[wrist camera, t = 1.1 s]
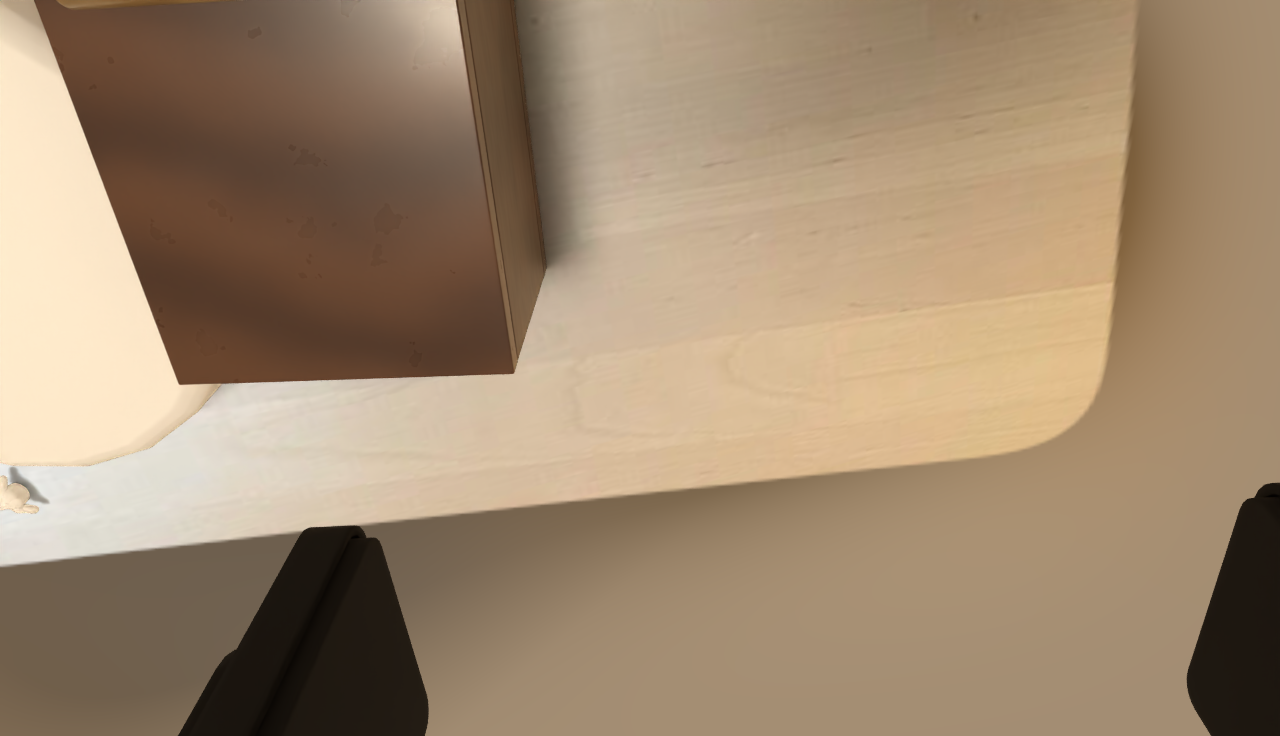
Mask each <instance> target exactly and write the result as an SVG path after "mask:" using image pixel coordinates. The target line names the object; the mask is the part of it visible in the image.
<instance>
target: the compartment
mask: <svg viewBox="0 0 1280 736" xmlns="http://www.w3.org/2000/svg"><path fill="white" fill-rule="evenodd" d="M464 4H465V11H466V18H467V25H468V31H469V38H470V45H471V51H472V58H473V65H474V72H475V78H476V85H477V92H478V99H479V105H480V112H481V119H482V125H483V132H484V139H485V146H486V152H487V159H488V166H489V173H490V179H491V186H492V193H493V199H494V206H495V213H496V220H497V226H498V233H499V240H500V247H501V253H502V260H503V267H504V273H505V280H506V287H507V294H508V300H509V307H510V314H511V321H512V327H513V334H514V341H515V347H516V354H517V360H518V358H519V355H520V351H521V348H522V345H523V342H524V339H525V335H526V332H527V329H528V326H529V323H530V319H531V316H532V313H533V310H534V307H535V303H536V300H537V297H538V294H539V291H540V287H541V284H542V281H543V278H544V275H545V272H546V269H547V267H546V258H545V250H544V242H543V234H542V226H541V217H540V209H539V201H538V193H537V185H536V176H535V168H534V160H533V152H532V144H531V135H530V127H529V119H528V111H527V103H526V94H525V86H524V78H523V70H522V62H521V53H520V45H519V37H518V29H517V21H516V13H515V4H514V0H464Z"/></svg>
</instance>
